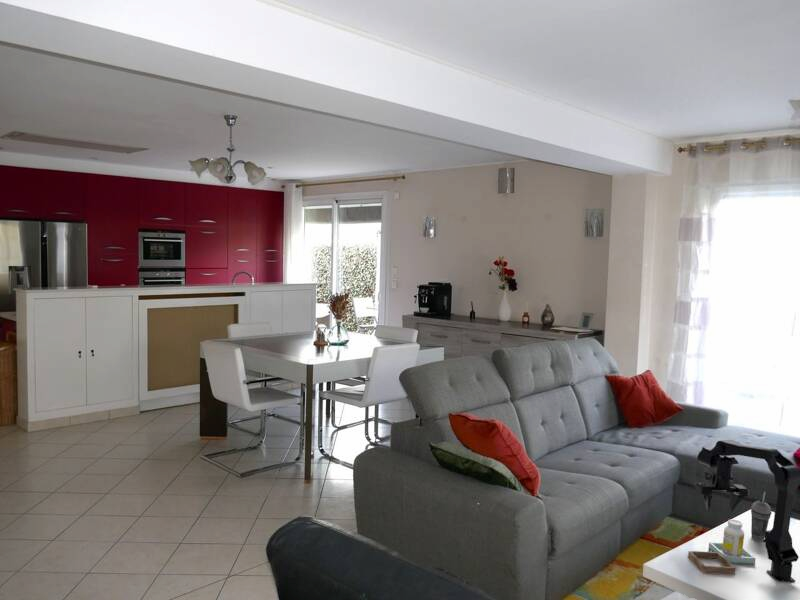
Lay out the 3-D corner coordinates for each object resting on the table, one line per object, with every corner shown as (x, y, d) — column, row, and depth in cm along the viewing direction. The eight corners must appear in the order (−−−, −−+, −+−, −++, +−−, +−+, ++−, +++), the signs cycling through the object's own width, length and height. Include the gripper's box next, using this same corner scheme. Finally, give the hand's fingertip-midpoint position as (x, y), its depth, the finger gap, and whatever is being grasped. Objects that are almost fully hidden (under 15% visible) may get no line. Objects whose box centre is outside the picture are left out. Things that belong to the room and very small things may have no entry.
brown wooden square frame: (735, 574, 226) (735, 568, 225) (703, 573, 225) (704, 566, 225) (718, 558, 237) (718, 552, 237) (687, 557, 237) (688, 551, 236)
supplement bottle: (739, 552, 242) (743, 520, 240) (743, 560, 235) (747, 527, 234) (720, 549, 243) (723, 516, 242) (723, 557, 237) (727, 524, 236)
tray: (754, 564, 234) (755, 558, 234) (724, 563, 234) (725, 556, 233) (737, 549, 245) (738, 543, 245) (708, 548, 245) (709, 542, 245)
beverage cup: (763, 535, 259) (768, 488, 258) (771, 543, 252) (777, 495, 250) (744, 533, 260) (749, 486, 258) (752, 541, 253) (758, 493, 251)
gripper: (735, 465, 256) (731, 503, 258) (690, 463, 255) (686, 501, 257) (751, 475, 245) (747, 515, 246) (704, 473, 244) (699, 512, 246)
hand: (719, 510), depth 249 cm, fingers open, 9 cm apart
